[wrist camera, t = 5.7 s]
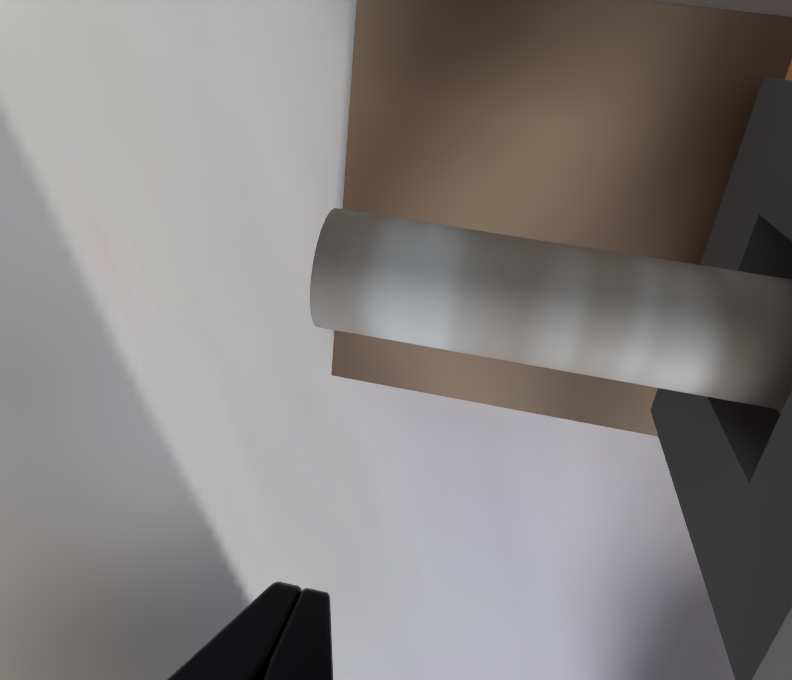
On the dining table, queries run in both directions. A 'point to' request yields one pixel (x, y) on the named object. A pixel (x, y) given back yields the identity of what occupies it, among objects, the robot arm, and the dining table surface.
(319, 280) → the pipe fixture
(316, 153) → the dining table surface
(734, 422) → the grey flat block
